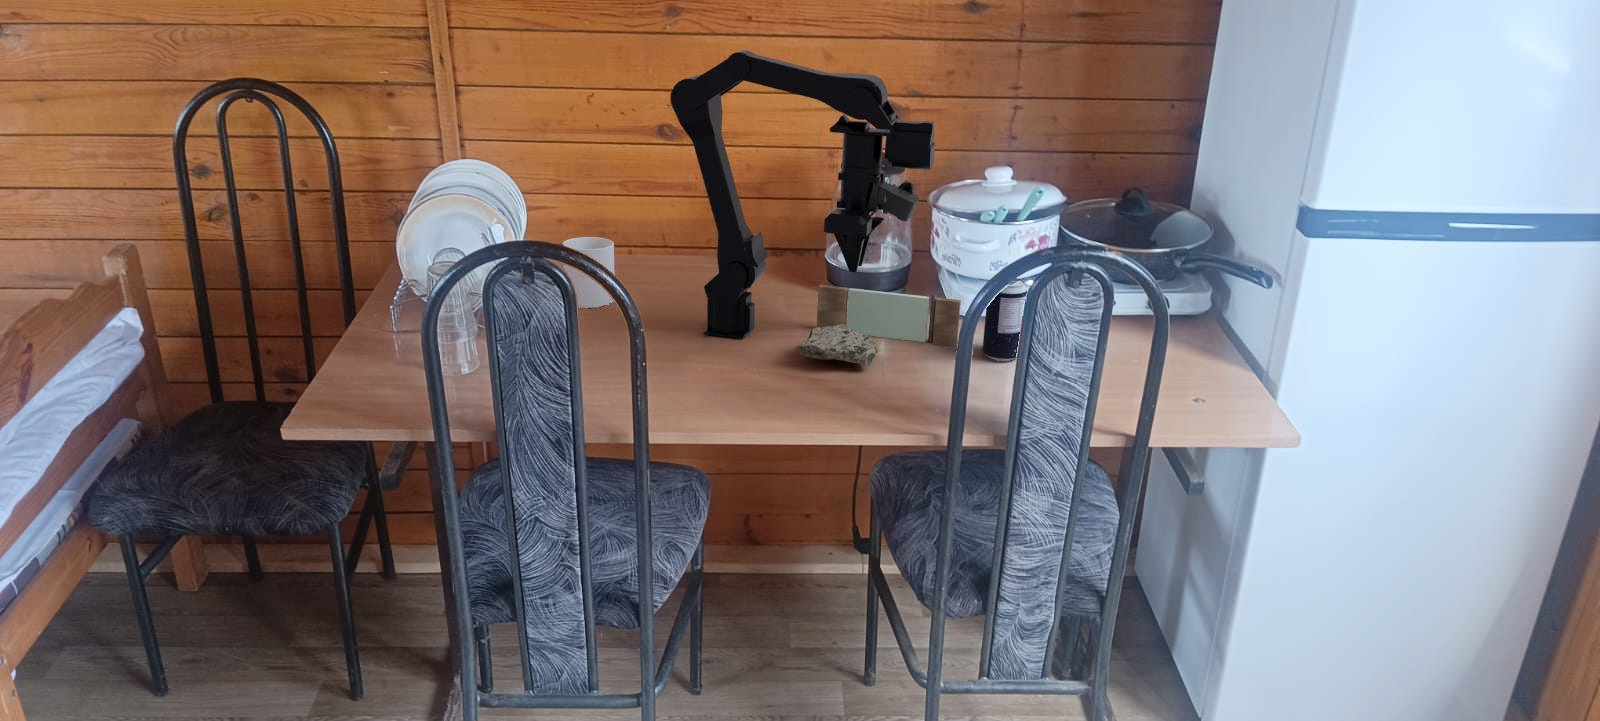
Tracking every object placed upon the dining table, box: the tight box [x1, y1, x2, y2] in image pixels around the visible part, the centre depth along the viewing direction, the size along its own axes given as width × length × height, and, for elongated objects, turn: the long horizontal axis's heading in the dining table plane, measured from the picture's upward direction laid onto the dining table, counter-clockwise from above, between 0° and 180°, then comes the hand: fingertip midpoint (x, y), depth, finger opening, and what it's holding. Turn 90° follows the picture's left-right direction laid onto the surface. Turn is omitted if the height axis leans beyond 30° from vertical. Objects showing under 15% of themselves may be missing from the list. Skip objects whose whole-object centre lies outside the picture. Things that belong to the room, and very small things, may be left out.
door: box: [847, 287, 930, 343], centre depth 178 cm, size 12×1×7 cm, turn 75°
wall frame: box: [816, 284, 962, 347], centre depth 178 cm, size 22×1×8 cm, turn 75°
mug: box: [561, 236, 615, 310], centre depth 191 cm, size 12×8×10 cm
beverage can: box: [981, 278, 1028, 362], centre depth 171 cm, size 6×6×12 cm
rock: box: [795, 324, 879, 367], centre depth 168 cm, size 11×11×4 cm
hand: (855, 268), depth 172 cm, fingers open, 3 cm apart
